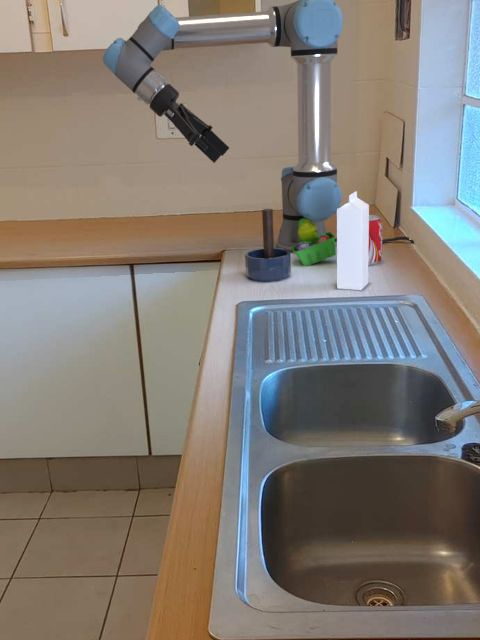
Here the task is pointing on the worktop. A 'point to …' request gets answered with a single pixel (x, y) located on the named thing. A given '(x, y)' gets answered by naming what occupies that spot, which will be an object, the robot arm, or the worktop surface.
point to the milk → (352, 244)
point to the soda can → (375, 240)
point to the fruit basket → (313, 244)
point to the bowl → (268, 265)
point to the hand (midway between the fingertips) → (222, 155)
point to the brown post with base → (268, 233)
